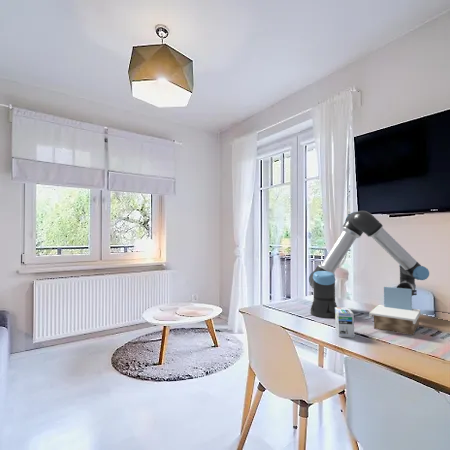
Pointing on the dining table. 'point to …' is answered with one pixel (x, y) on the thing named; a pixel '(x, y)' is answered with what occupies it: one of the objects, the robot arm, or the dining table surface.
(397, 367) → the dining table surface
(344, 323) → the light bulb box
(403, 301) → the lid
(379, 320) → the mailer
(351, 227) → the robot arm
